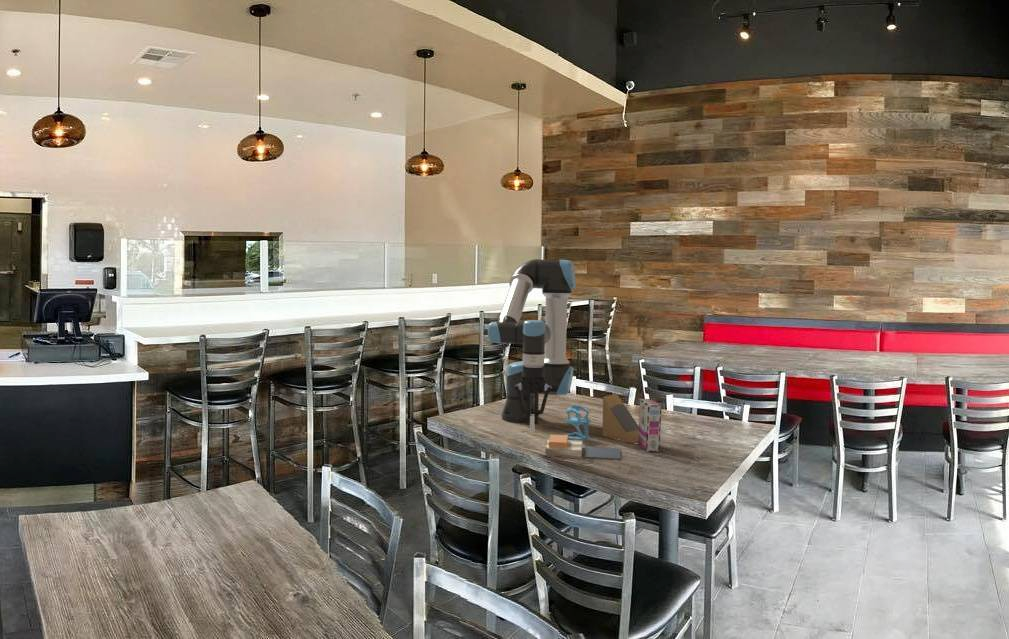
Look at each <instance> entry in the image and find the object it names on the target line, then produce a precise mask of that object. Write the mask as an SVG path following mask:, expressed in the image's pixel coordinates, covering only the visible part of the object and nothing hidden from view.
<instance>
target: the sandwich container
mask: <svg viewBox="0 0 1009 639" xmlns="http://www.w3.org/2000/svg"><path fill="white" fill-rule="evenodd" d="M638 433H639V423H638V422H636V420H635V419H634V417H633V416H632V414H631V413H630V412H629V410H628V408H627V407H626V405H625V404H624V403H623V401H622V399H621V398H620V396H619V395H618V393H615V394H609V395H605V396H603V398H602V436H603V435H604V436H603V437H606V436H607V437H606V438H610V437H611V438H610V439H613V438H616V439H615V440H617V439H620V440H619V441H621V440H624V441H623V442H625V441H627V442H626V443H629V442H631V443H630V444H633V443H638Z"/></svg>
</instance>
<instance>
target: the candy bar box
mask: <svg viewBox="0 0 1009 639" xmlns="http://www.w3.org/2000/svg"><path fill="white" fill-rule="evenodd" d="M662 408H663V407H662V405H661V404H660V403H658V402H657V401H655V400H654V399H653V398H640V399H639V412H638V413H639V414H638V426H639V433H638V443H639V446H640V447H641V448H642V449H643V450H644V451H645V452H646V453H659V452H660V445H661V425H662Z"/></svg>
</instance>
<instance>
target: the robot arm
mask: <svg viewBox="0 0 1009 639" xmlns="http://www.w3.org/2000/svg"><path fill="white" fill-rule="evenodd" d="M576 279H577V278H576V272H575V267H574V263H573V262H572V261H571V260H569V259H568V260H567V259H561V258H560V259H537V258H534V259H530V260H527V261H525V262H523V263H522V264H521V265H519V266H518V267H517V268H516V269H515V270H514V272H513V273H512V274H511V276H510V278H509V282H508V284H509V285H508V286H509V288H508V292H507V294H506V296H505V300H504V303H503V305H502V308H501V310H500V314H499V317H498V319H497V321H492V322H490V323H489V324H488V327H487V338H488V341H489V342H490V343H495V344H499V345H500V344H510V345H522V361H514V362H511V363H510V364H507V367H506V375H505V376H506V382H505V383H506V392H505V393H506V398H505V402H504V406H503V408H502V412H501V419H502V420H504V421H507V422H510V423H526V425H529V435H531V436H532V435H533V436H534V435H535V434H536V425H538V424H539V419H540V415H543V414H544V411H545V408H546V404H547V400H548V397H549V395H550V396H567V395H568V394H569V392H570V390H571V387H572V383H573V382H572V381H573V376H574V367H573V366H570V360H568V359H567V330H568V329H567V327H568V326H567V324H568V322H567V321H568V298H569V297H570V296H571V295H572V291H573V290H575V289H576V287H577V286H576V283H577V280H576ZM533 289H541V290H542V291H541V293H542V295H543V296H544V297H545V317H544V318H545V319H544V320H545V321H544V320H539V319H530V320H528V319H527V320H525V321H524V322H520V320H521V318H522V317H521V316H522V314H523V311H524V307H525V305H526V302H527V298H528V295H529V293H531V292H532V291H533ZM539 395H543V399H542V403H541V406H540V405H539V403H540V402H539V400H540V398H539ZM539 406H540V408H539Z"/></svg>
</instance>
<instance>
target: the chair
mask: <svg viewBox="0 0 1009 639" xmlns="http://www.w3.org/2000/svg"><path fill="white" fill-rule="evenodd" d="M581 410H582V411H585V412H586V413H585V418H583V417H581V415H582V413H581V412H579V411H581ZM570 413H575V414H574V416H573V417H571V415H570ZM589 413H590V410H589V409H587V408H586V407H584V406H581V405H571V406H569V407H568V408H567V409H566V414H567V419H565V420H564V422H565V423H569V424H571V425H572V426H573V427H575V429H576V430H577V431H576V432H575V431H574V432H571V433H567V434H566V435H568V440H581V441H582V442H585V441H589V440H590V439H589V438H590V437H589V423H590V422H591V419H589V417H588V416H589ZM581 425H583V427H584V434H583V433H582V430H581V428H580V426H581ZM575 436H576V437H575Z"/></svg>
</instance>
